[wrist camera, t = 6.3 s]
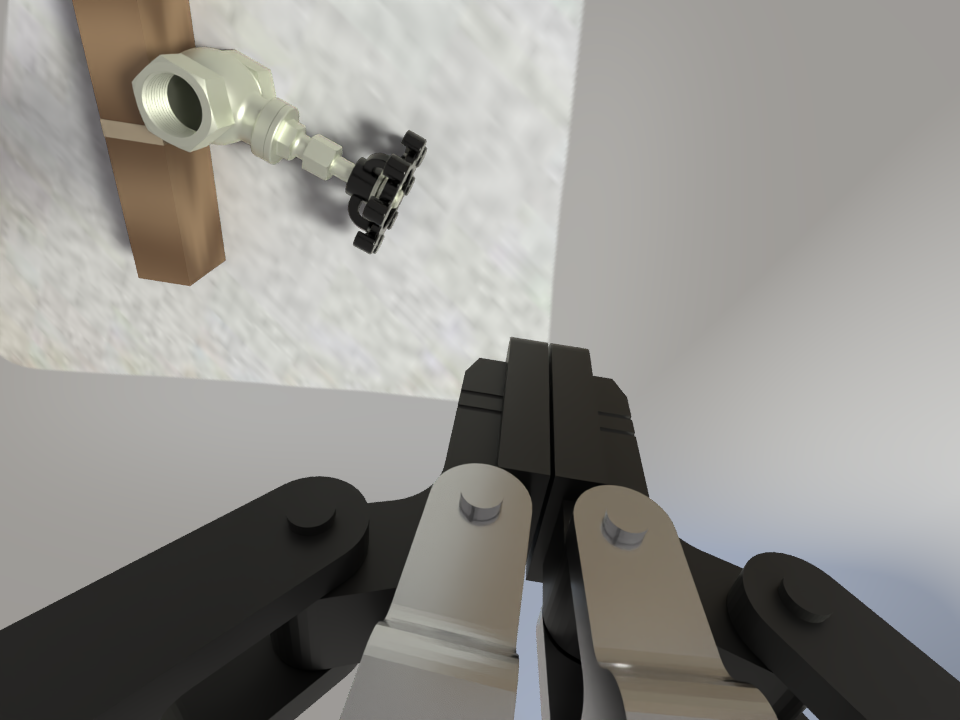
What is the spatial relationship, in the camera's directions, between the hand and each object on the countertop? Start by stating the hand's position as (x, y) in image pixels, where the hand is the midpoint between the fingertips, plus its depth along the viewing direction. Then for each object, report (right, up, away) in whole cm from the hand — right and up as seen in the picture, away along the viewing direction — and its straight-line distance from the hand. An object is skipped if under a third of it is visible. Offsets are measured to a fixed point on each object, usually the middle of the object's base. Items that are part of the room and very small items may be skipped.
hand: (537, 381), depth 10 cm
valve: (-10, +13, +19) cm, 25 cm away
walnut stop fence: (-18, +14, +19) cm, 29 cm away
